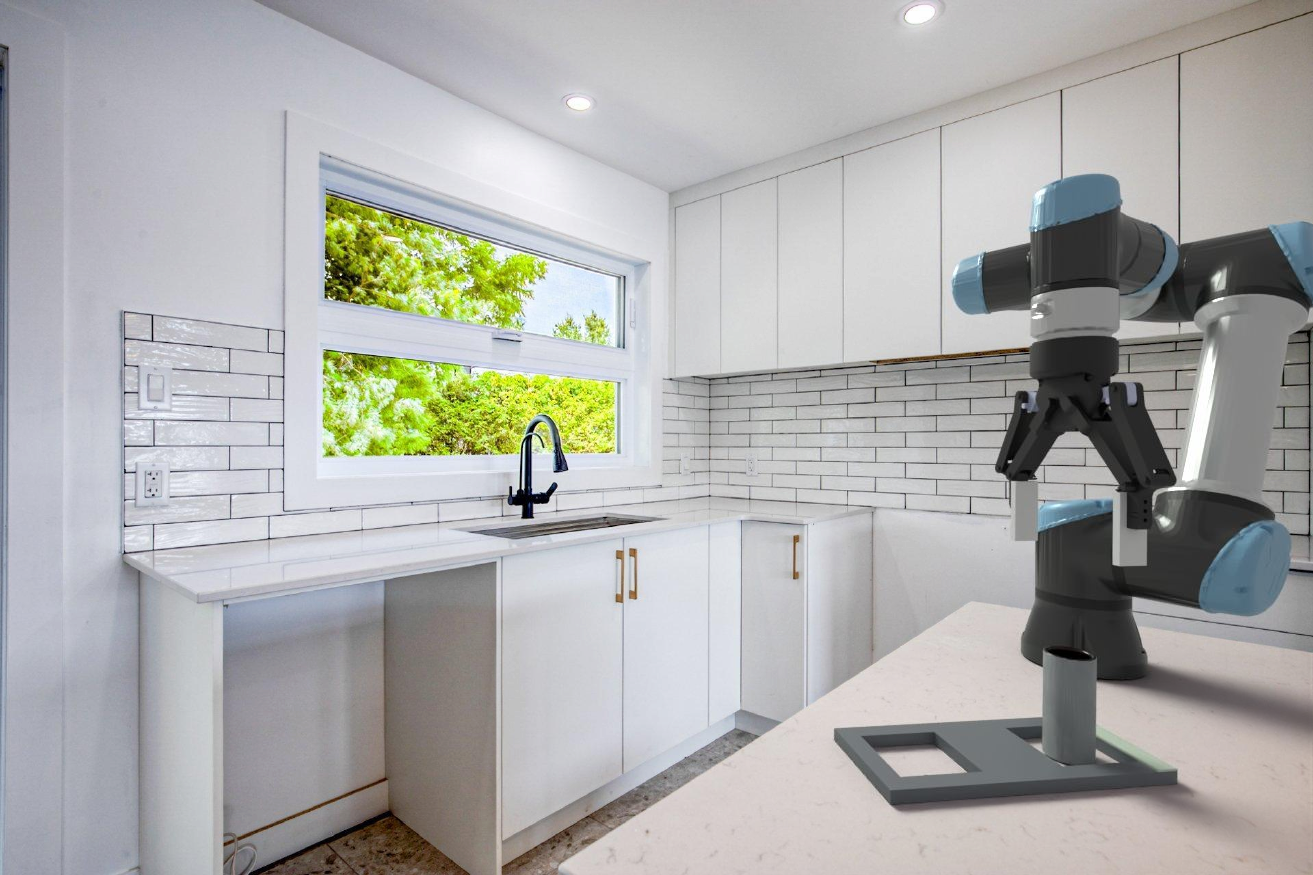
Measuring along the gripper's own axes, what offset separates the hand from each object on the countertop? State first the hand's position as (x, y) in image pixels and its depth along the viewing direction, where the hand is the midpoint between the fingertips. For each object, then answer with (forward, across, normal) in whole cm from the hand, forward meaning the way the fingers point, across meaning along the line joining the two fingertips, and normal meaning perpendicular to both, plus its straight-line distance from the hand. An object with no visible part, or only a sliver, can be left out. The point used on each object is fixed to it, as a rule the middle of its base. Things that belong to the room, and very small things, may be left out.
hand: (1071, 551), depth 65 cm
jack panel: (+20, 0, -8) cm, 22 cm away
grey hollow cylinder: (+21, 0, 0) cm, 21 cm away
